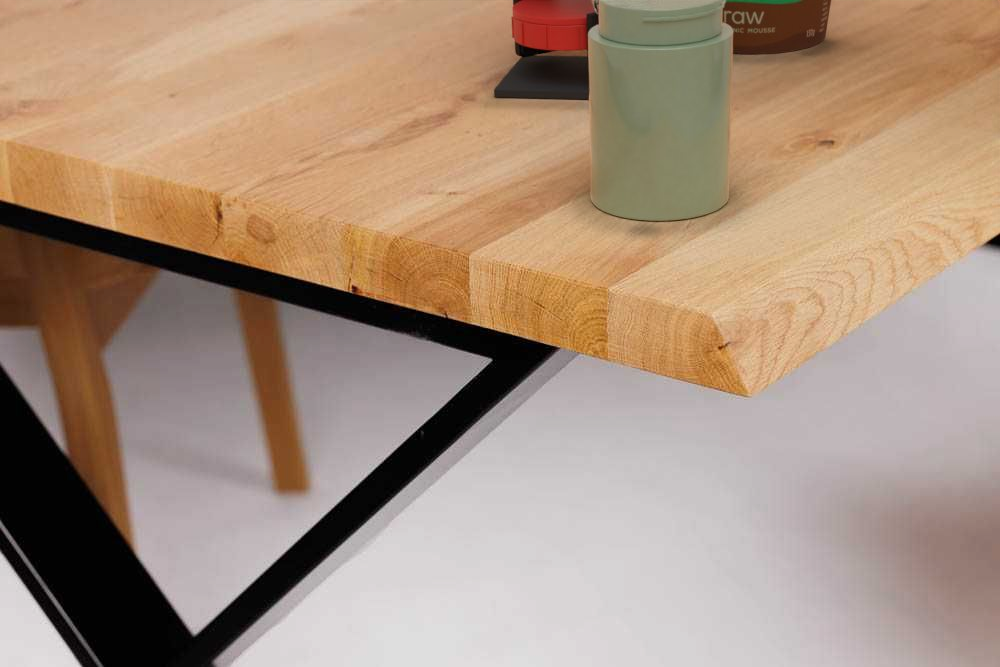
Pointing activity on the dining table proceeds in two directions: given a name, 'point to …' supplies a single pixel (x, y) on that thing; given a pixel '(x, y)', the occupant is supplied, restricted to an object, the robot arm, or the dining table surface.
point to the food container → (776, 24)
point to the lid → (551, 24)
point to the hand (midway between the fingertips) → (574, 63)
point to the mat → (546, 78)
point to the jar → (660, 108)
